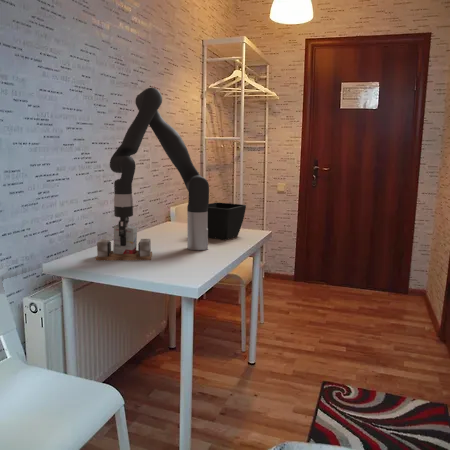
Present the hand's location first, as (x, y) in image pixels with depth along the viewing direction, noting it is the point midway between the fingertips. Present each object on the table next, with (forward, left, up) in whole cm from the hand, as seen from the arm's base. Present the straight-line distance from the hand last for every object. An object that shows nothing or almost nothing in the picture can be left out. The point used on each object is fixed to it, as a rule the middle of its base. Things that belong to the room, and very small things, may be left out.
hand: (124, 243), depth 184 cm
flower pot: (-45, -44, -6) cm, 63 cm away
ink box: (0, 0, -4) cm, 4 cm away
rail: (0, 0, -6) cm, 6 cm away
